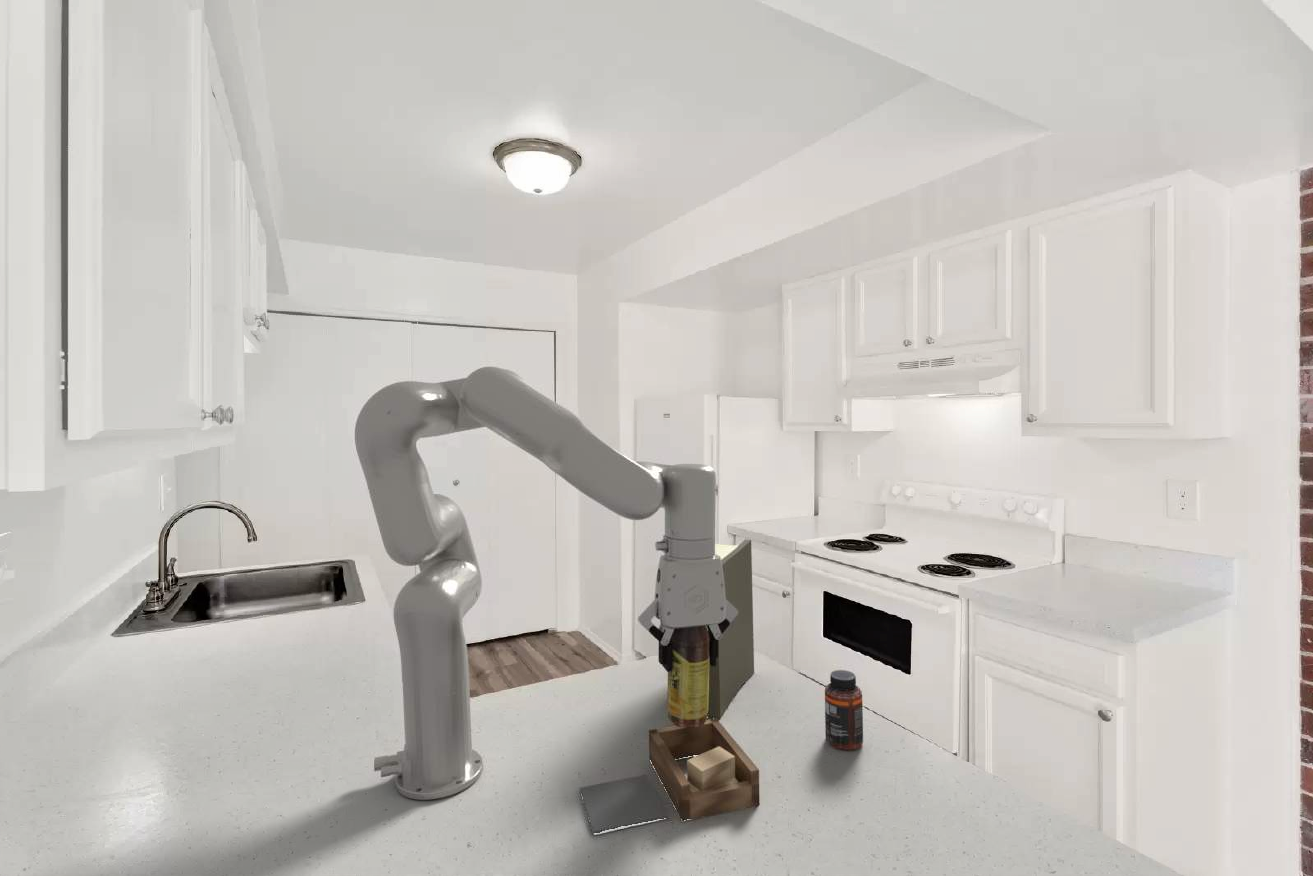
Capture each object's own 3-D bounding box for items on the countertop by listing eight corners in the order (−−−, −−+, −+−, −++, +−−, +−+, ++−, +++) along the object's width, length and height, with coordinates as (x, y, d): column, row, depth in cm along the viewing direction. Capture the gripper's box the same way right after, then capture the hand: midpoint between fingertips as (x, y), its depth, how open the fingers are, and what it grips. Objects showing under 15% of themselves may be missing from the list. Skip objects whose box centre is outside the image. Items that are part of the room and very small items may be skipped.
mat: (593, 836, 83) (593, 831, 83) (579, 791, 93) (579, 787, 93) (666, 819, 86) (666, 815, 86) (645, 778, 96) (645, 774, 95)
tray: (682, 822, 85) (681, 786, 85) (649, 761, 100) (648, 730, 100) (759, 804, 89) (759, 769, 88) (716, 748, 103) (716, 718, 103)
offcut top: (702, 792, 87) (702, 771, 87) (687, 781, 90) (686, 760, 90) (735, 776, 91) (734, 756, 91) (719, 766, 94) (719, 746, 93)
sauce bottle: (665, 711, 99) (666, 585, 98) (704, 709, 100) (706, 584, 99) (669, 732, 93) (671, 598, 92) (712, 731, 93) (714, 597, 92)
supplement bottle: (863, 735, 106) (863, 669, 106) (862, 754, 101) (862, 684, 100) (826, 730, 108) (825, 665, 108) (823, 748, 103) (823, 680, 102)
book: (719, 724, 112) (714, 568, 110) (670, 714, 116) (665, 563, 114) (754, 673, 132) (751, 539, 129) (711, 666, 136) (708, 536, 133)
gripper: (640, 557, 89) (639, 683, 90) (753, 549, 94) (751, 668, 95) (627, 545, 96) (626, 662, 97) (732, 538, 101) (731, 650, 102)
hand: (688, 664), depth 96 cm, fingers closed on sauce bottle, 6 cm apart
